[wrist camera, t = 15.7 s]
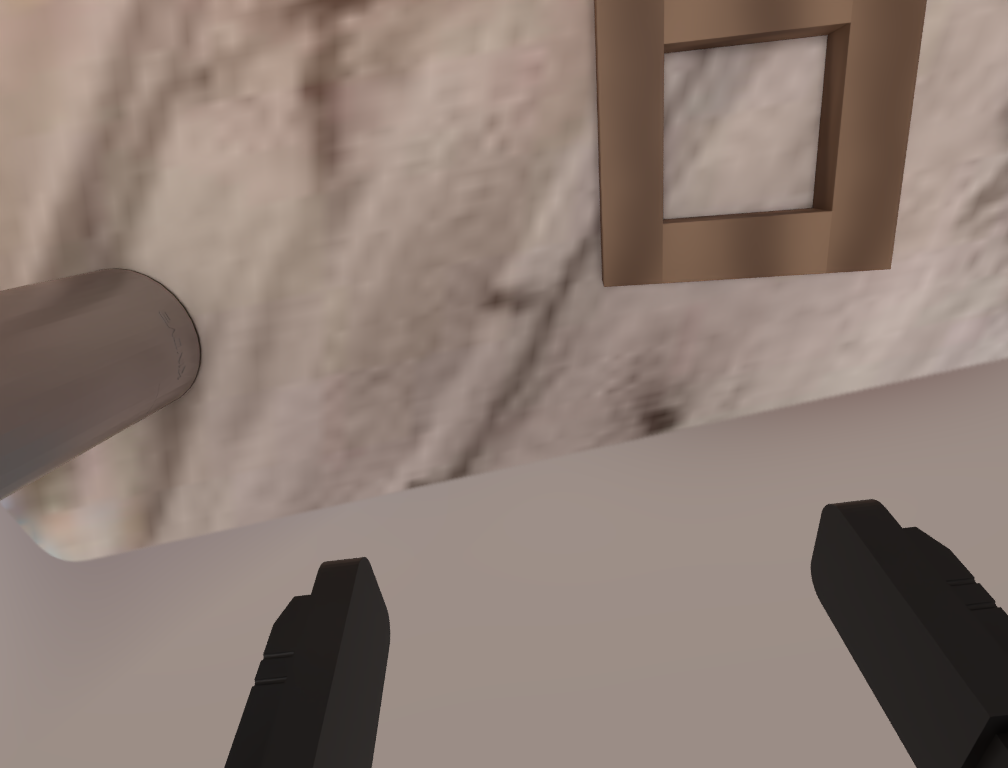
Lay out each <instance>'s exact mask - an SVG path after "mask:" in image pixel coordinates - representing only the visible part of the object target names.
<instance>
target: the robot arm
mask: <svg viewBox="0 0 1008 768" xmlns="http://www.w3.org/2000/svg"><path fill="white" fill-rule="evenodd" d="M199 360H200V349H199V343H198V337H197V334H196V331H195V329H194V326H193V323H192V321H191V319H190V318H189V316H188V314H187V313H186V311H185V309H184V308H183V306H182V305H181V304H180V303H179V302H178V300H177V299H176V298H175V297H174V296H173V295H172V294H171V293H170V292H169V291H168V290H166V289H165V288H164V287H163V286H162V285H161V284H159V283H157V282H156V281H154V280H152V279H150V278H149V277H147V276H145V275H142V274H139V273H136V272H134V271H130V270H123V269H105V270H99V271H94V272H89V273H84V274H80V275H75V276H70V277H65V278H61V279H56V280H50V281H45V282H40V283H36V284H31V285H26V286H22V287H17V288H12V289H7V290H3V291H0V501H1V500H2V499H4V498H6V497H8V496H9V495H11V494H13V493H15V492H16V491H18V490H20V489H22V488H23V487H25V486H27V485H28V484H30V483H32V482H34V481H35V480H37V479H39V478H41V477H42V476H44V475H46V474H48V473H49V472H51V471H53V470H55V469H56V468H58V467H60V466H62V465H63V464H65V463H67V462H68V461H70V460H72V459H74V458H75V457H77V456H79V455H81V454H82V453H84V452H86V451H88V450H89V449H91V448H93V447H95V446H96V445H98V444H100V443H102V442H103V441H105V440H107V439H109V438H110V437H112V436H114V435H115V434H117V433H119V432H121V431H122V430H124V429H126V428H128V427H129V426H131V425H133V424H135V423H137V422H138V421H140V420H142V419H144V418H145V417H147V416H149V415H150V414H152V413H154V412H156V411H157V410H159V409H161V408H162V407H164V406H166V405H168V404H169V403H171V402H173V401H174V400H176V399H178V398H180V397H181V396H182V395H183V394H184V393H185V392H186V391H187V390H188V389H189V388H190V387H191V385H192V383H193V381H194V380H195V378H196V375H197V371H198V368H199ZM811 575H812V581H813V585H814V588H815V591H816V594H817V596H818V598H819V600H820V602H821V604H822V605H823V607H824V609H825V610H826V612H827V614H828V616H829V617H830V619H831V621H832V623H833V624H834V626H835V628H836V629H837V631H838V632H839V635H840V636H841V638H842V640H843V641H844V643H845V645H846V647H847V648H848V650H849V652H850V654H851V655H852V657H853V659H854V660H855V662H856V664H857V665H858V667H859V669H860V671H861V672H862V674H863V676H864V678H865V679H866V681H867V683H868V685H869V686H870V688H871V689H872V691H873V693H874V695H875V697H876V698H877V700H878V702H879V703H880V705H881V707H882V709H883V710H884V712H885V714H886V716H887V717H888V719H889V721H890V722H891V724H892V726H893V728H894V729H895V731H896V732H897V734H898V736H899V738H900V740H901V741H902V743H903V745H904V746H905V748H906V750H907V752H908V753H909V755H910V757H911V759H912V760H913V762H914V764H915V765H916V767H917V768H1008V615H1007V614H1006V613H1005V612H1004V610H1002V608H1001V607H1000V608H998V607H997V606H996V604H995V600H994V599H993V598H992V597H991V596H990V595H989V593H988V592H987V591H986V590H985V589H984V588H983V587H982V586H981V584H980V583H976V582H975V580H974V577H973V575H972V574H971V573H970V572H969V571H968V570H967V568H966V567H965V566H964V565H963V564H962V563H961V562H960V561H959V559H958V558H957V557H956V556H955V555H954V554H953V553H952V551H951V550H950V549H948V548H947V547H945V546H944V545H942V544H941V543H939V542H938V541H936V540H935V539H933V538H932V537H930V536H929V535H927V534H926V533H924V532H923V531H921V530H920V529H918V528H917V527H910V528H902V527H901V526H900V525H899V524H898V522H897V521H896V520H895V519H894V517H893V516H892V515H891V514H890V513H889V511H888V510H887V509H886V508H885V507H884V506H883V505H882V504H881V503H880V502H879V501H877V500H873V499H869V500H860V501H852V502H844V503H836V504H828V505H826V506H825V507H824V508H823V510H822V514H821V519H820V523H819V528H818V532H817V538H816V542H815V546H814V551H813V556H812V560H811ZM389 645H390V622H389V616H388V611H387V608H386V605H385V602H384V600H383V597H382V594H381V592H380V589H379V586H378V584H377V581H376V578H375V575H374V573H373V570H372V567H371V565H370V562H369V560H368V559H367V558H366V557H362V558H353V559H344V560H337V561H327V562H323V563H322V564H321V566H320V568H319V570H318V573H317V576H316V580H315V583H314V587H313V590H312V593H311V595H304V596H295V597H294V598H293V599H292V600H291V602H290V603H289V604H288V606H287V607H286V609H285V610H284V611H283V612H282V614H281V615H280V616H279V618H278V619H277V620H276V622H275V623H274V625H273V627H272V630H271V633H270V636H269V639H268V642H267V645H266V648H265V651H264V654H263V655H264V659H263V660H262V661H261V662H260V665H259V668H258V671H257V674H256V677H255V686H253V687H252V689H251V692H250V695H249V697H248V700H247V703H246V706H245V709H244V712H243V715H242V718H241V721H240V724H239V726H238V730H237V733H236V735H235V738H234V741H233V744H232V747H231V750H230V753H229V756H228V759H227V761H226V764H225V768H371V767H372V761H373V753H374V748H375V741H376V734H377V727H378V720H379V713H380V707H381V700H382V692H383V686H384V680H385V673H386V666H387V659H388V652H389Z"/></svg>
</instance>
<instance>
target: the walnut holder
mask: <svg viewBox="0 0 1008 768" xmlns="http://www.w3.org/2000/svg"><path fill="white" fill-rule="evenodd" d="M926 2H927V0H594V8H595V44H596V80H597V115H598V151H599V186H600V222H601V258H602V280H603V284H604V287H611V286H627V285H643V284H659V283H675V282H691V281H707V280H724V279H740V278H756V277H772V276H788V275H804V274H820V273H837V272H853V271H869V270H885V269H891V262H892V254H893V247H894V239H895V232H896V225H897V217H898V210H899V202H900V195H901V188H902V180H903V173H904V165H905V158H906V151H907V143H908V136H909V128H910V121H911V114H912V106H913V99H914V91H915V84H916V76H917V69H918V62H919V54H920V47H921V39H922V32H923V25H924V17H925V10H926ZM821 35H828V39H827V51H826V62H825V74H824V85H823V96H822V108H821V119H820V130H819V142H818V153H817V164H816V176H815V187H814V199H813V208H807V209H794V210H781V211H768V212H755V213H742V214H728V215H715V216H702V217H689V218H676V219H663V123H664V53H671V52H680V51H689V50H698V49H707V48H715V47H724V46H733V45H742V44H751V43H759V42H768V41H777V40H786V39H795V38H804V37H812V36H821Z"/></svg>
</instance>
